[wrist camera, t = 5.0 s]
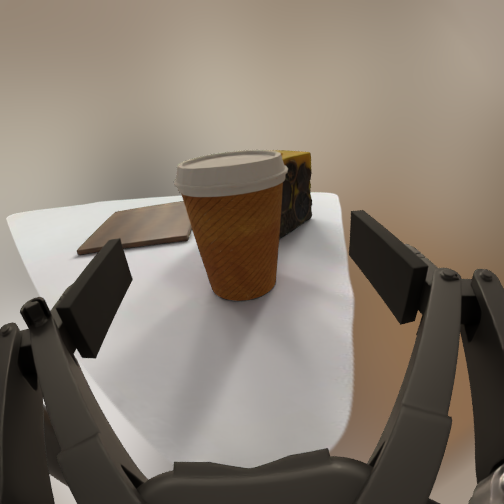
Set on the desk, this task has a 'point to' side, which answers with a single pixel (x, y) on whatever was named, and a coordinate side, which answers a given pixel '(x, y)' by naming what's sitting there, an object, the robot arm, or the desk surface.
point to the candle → (295, 191)
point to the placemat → (142, 227)
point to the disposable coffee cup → (235, 218)
